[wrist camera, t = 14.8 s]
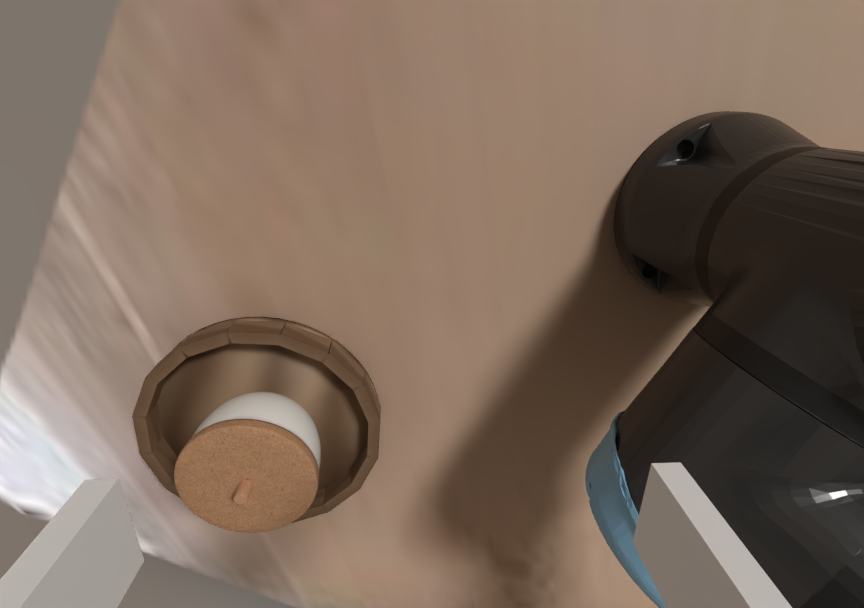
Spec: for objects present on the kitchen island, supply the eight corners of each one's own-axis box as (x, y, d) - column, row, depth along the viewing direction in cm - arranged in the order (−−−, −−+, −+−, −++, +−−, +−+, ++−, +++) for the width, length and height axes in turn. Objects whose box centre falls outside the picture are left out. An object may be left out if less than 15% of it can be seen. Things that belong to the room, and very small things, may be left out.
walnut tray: (385, 322, 41) (384, 338, 38) (375, 500, 49) (374, 524, 47) (134, 311, 39) (114, 327, 36) (167, 499, 47) (153, 523, 44)
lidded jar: (308, 478, 46) (289, 564, 38) (196, 447, 44) (149, 532, 35) (346, 392, 43) (334, 466, 34) (226, 353, 40) (182, 423, 32)
